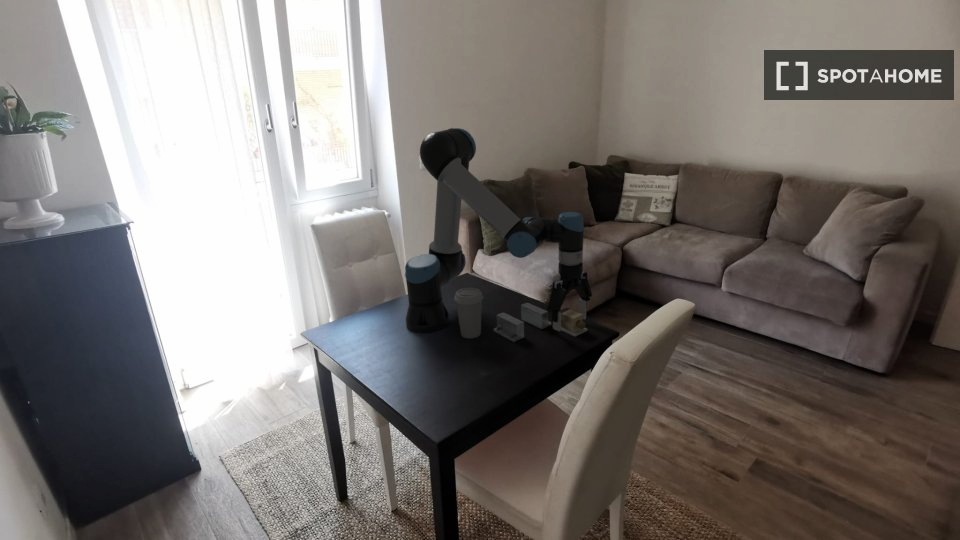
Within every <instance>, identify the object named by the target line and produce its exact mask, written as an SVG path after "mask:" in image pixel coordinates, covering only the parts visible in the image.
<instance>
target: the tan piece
mask: <svg viewBox="0 0 960 540" xmlns="http://www.w3.org/2000/svg"><path fill="white" fill-rule="evenodd" d="M559 312H561V327H562V328H564V329H566V330H569V331H571V332H573V333H574V332H576V331H578V330H580V329H583V328H586V322H585V321H583V320H584V319H583V314H581V313H578V312H577V311H575V310H573V309H571V308H569V307H565V308H563V309H562V308H561V309H560V311H559Z"/></svg>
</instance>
